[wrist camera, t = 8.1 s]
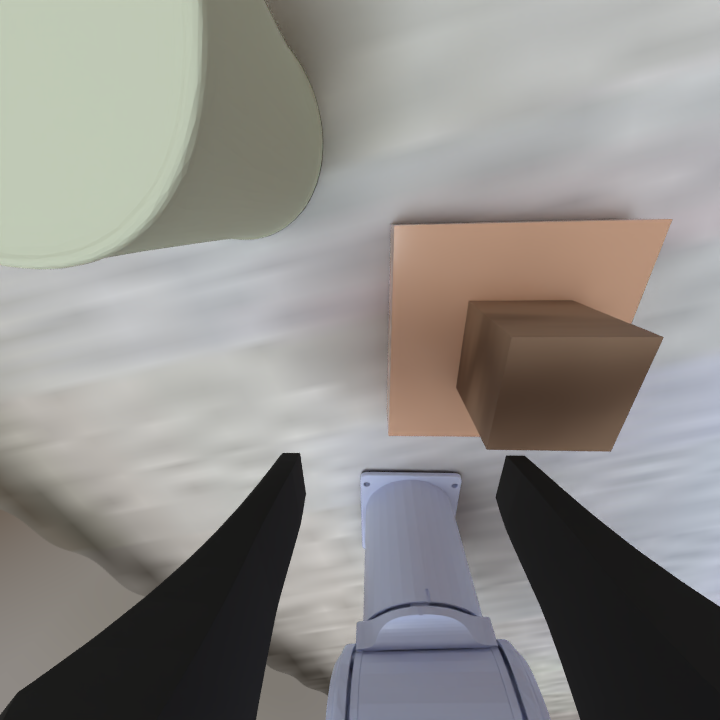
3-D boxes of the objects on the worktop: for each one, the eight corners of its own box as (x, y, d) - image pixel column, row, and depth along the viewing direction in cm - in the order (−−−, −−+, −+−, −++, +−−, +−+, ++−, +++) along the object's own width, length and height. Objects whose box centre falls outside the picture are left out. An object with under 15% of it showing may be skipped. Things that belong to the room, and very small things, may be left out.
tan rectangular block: (558, 408, 21) (586, 437, 18) (386, 408, 21) (388, 435, 18) (619, 219, 15) (672, 219, 13) (390, 224, 16) (394, 225, 13)
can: (316, 3, 12) (-61, -1434, 2) (328, 239, 16) (242, 276, 6) (106, 11, 13) (-1349, -1121, 2) (167, 240, 17) (-204, 277, 6)
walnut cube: (545, 388, 17) (610, 451, 12) (455, 387, 17) (486, 449, 12) (572, 300, 14) (663, 337, 10) (468, 300, 15) (511, 336, 10)
